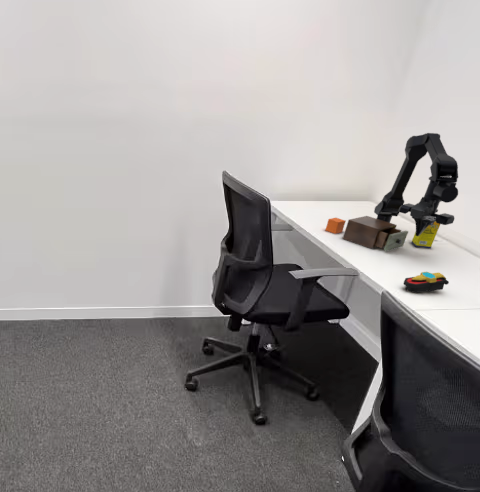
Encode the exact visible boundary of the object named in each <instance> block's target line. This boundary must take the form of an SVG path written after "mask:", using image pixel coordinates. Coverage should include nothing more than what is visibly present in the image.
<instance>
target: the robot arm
mask: <svg viewBox="0 0 480 492" xmlns="http://www.w3.org/2000/svg"><path fill="white" fill-rule="evenodd" d="M404 153H405V158H404V161H403V162H402V165H401V167H400V169H399V172H398V174H397V176H396V178H395V181H394V183H393V185H392V187H391V189H390V190H389V192H387V193H386V194H385V195H383V198H382V199H381V201H380V202H379V203H378V204H377V205H375V206H374V210H373V212H374V214H376V215H377V216H376V219H379V220H382V221H385V222H389V223H391V220H392V218H393V217H398V216H399V215H400V214H405V215H406V214H408V213H409V216H410V217H411V219H413V220H414V222H415V232H416V236H420V234H421V233H422V232H423V231H424V230H425V229H426V228H427V227H428V226H429V225H430V224H431V223H432V222H436V223H439V224H440V225H443V226H448V225H451V224H453V223H454V221H455V215H453V214H449V213H446V212H444V213H440V214H439V213H438V211H439V209H438V208H439V205H440V203H441V202H443V203H446V204H447V203H451V202H453V201H455V200H456V199H457V197H458V195H459V189H458V187H456V186H457V182H458V179H459V171H458V170H459V169H458V168H459V165H458V161H457V160H456V159H455V158H454V157H453V156H451V155H449V154H448V152H447V151H446V149H445V146H444V145H443V142H442V140H441V134H440V133H437V132H435V133H434V132H426V133H424V134H420V135H412V136H410V137H409V138H407V141H406V143H405V148H404ZM427 154H428V155H429V158H430V160H431V165H430V167H429V168H430V174H431V176H429V177H428V180H429V183H428V185H427V188H426V191H425V193H424V195H423V196H422V197H421V199H420V201H419V202H417V203H416V204H413V203H405V200H404V196H403V195H404V193H405V191H406V188H407V186H408V184H409V181H410V180H411V178H412V175H413V173H414V171H415V169H416V166H417V165H418V163H419V161H420V160H421V159H423V158H424V157H425V156H426V155H427Z"/></svg>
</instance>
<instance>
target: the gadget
mask: <svg viewBox="0 0 480 492" xmlns="http://www.w3.org/2000/svg"><path fill="white" fill-rule="evenodd" d="M449 283H450V282H449V280H447V278H446V276H445V275H444V274H443V273H441V272H430V271H421V272H420V274H419V275H416V276H410V277H406V278H405V279H404V280H403V285H404V286H405V290H407V292H412V293H424V292H431V293H432V292H434V291H441V290H443V289H444V286H445V285H446V286H447V285H449Z"/></svg>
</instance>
